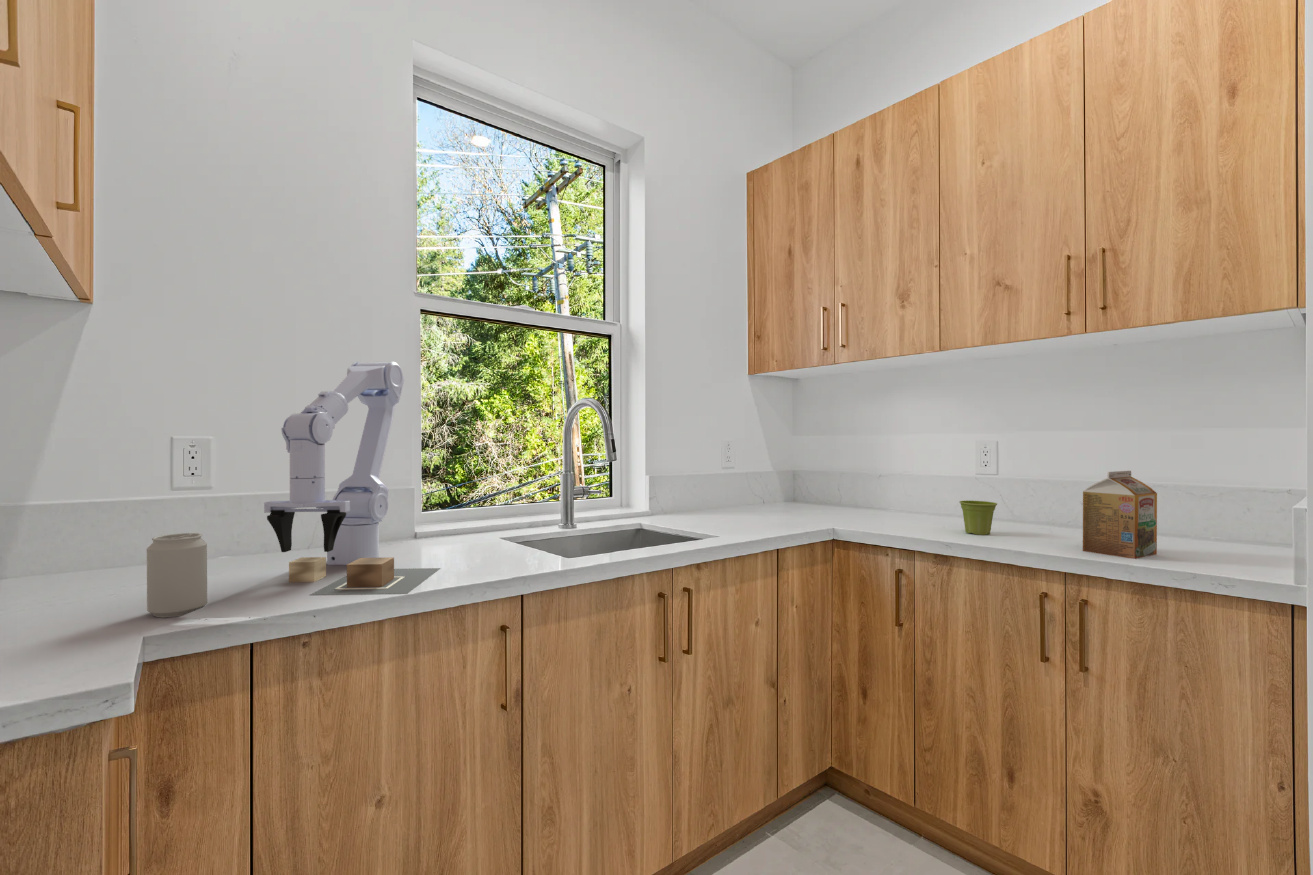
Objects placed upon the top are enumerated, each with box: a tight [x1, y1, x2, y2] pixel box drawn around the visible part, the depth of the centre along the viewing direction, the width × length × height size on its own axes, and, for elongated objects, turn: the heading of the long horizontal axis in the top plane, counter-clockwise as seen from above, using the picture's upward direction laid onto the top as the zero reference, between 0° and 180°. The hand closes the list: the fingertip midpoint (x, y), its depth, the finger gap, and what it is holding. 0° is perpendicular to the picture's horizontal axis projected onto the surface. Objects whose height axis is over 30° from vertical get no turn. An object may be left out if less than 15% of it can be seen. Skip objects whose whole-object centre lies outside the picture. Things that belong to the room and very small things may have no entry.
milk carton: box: [1082, 470, 1158, 560], centre depth 146 cm, size 11×11×19 cm
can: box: [146, 532, 208, 618], centre depth 98 cm, size 8×8×12 cm
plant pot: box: [958, 500, 998, 536], centre depth 174 cm, size 9×9×9 cm
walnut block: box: [346, 556, 395, 587], centre depth 113 cm, size 6×6×4 cm
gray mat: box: [309, 567, 442, 596], centre depth 115 cm, size 16×20×1 cm
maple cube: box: [288, 556, 327, 583], centre depth 117 cm, size 4×4×4 cm
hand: (307, 551), depth 116 cm, fingers open, 7 cm apart
